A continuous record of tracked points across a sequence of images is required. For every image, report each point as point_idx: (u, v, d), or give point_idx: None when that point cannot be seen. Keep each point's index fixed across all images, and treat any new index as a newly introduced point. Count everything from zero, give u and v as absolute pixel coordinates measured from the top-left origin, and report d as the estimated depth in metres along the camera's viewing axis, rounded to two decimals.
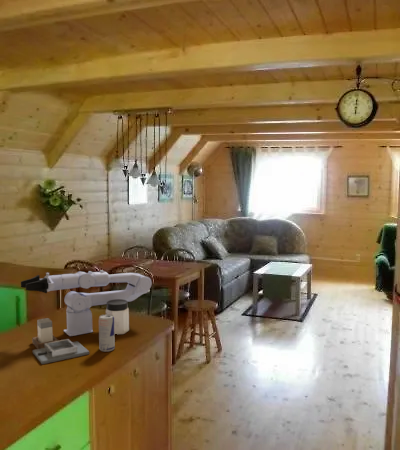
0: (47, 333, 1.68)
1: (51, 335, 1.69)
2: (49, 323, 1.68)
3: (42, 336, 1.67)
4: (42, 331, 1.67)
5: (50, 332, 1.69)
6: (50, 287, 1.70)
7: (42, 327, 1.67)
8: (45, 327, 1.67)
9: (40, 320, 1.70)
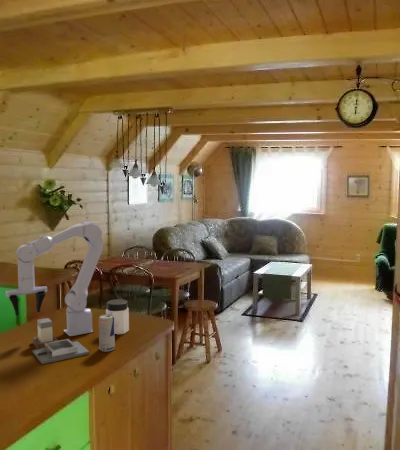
0: (47, 333, 1.68)
1: (51, 335, 1.69)
2: (49, 323, 1.68)
3: (42, 336, 1.67)
4: (42, 331, 1.67)
5: (50, 332, 1.69)
6: (6, 295, 1.69)
7: (42, 327, 1.67)
8: (45, 327, 1.67)
9: (40, 320, 1.70)
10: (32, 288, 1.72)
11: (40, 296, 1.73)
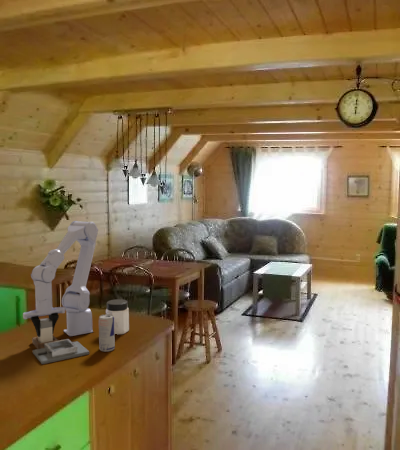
0: (47, 333, 1.68)
1: (51, 335, 1.69)
2: (49, 323, 1.68)
3: (42, 336, 1.67)
4: (42, 331, 1.67)
5: (50, 332, 1.69)
6: (23, 317, 1.65)
7: (42, 327, 1.67)
8: (45, 327, 1.67)
9: (40, 320, 1.70)
10: (50, 309, 1.68)
11: (53, 318, 1.69)
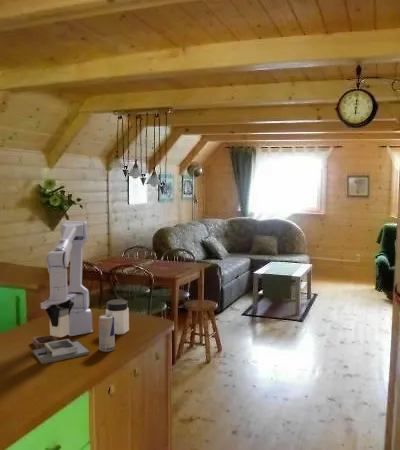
0: (65, 321, 1.60)
1: (68, 323, 1.61)
2: (66, 311, 1.60)
3: (61, 325, 1.58)
4: (61, 320, 1.58)
5: (67, 320, 1.61)
6: (43, 307, 1.53)
7: (61, 315, 1.58)
8: (63, 315, 1.59)
9: None
10: (67, 296, 1.60)
11: (70, 305, 1.61)
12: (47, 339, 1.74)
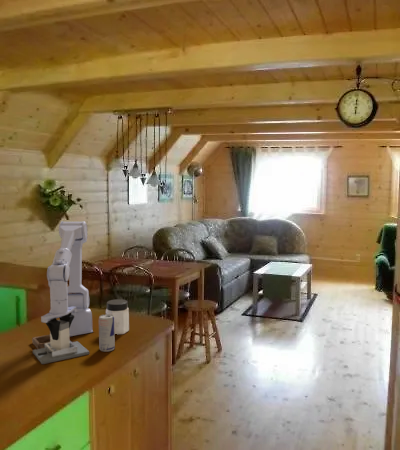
0: (65, 335, 1.60)
1: (68, 336, 1.61)
2: (67, 324, 1.60)
3: (61, 338, 1.59)
4: (61, 333, 1.58)
5: (67, 333, 1.61)
6: (44, 321, 1.54)
7: (61, 329, 1.58)
8: (64, 328, 1.59)
9: None
10: (67, 310, 1.60)
11: (70, 318, 1.62)
12: (47, 339, 1.74)
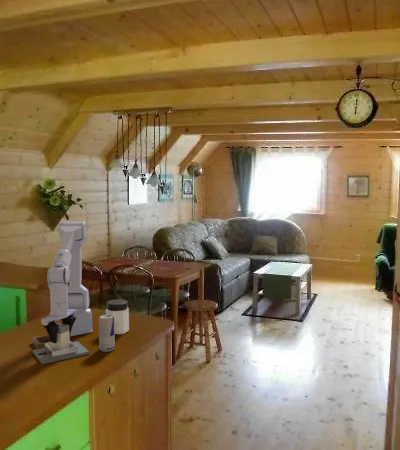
0: (65, 338, 1.60)
1: (68, 339, 1.61)
2: (67, 327, 1.61)
3: (61, 341, 1.59)
4: (61, 336, 1.59)
5: (67, 336, 1.61)
6: (44, 323, 1.54)
7: (61, 332, 1.58)
8: (64, 332, 1.59)
9: None
10: (67, 312, 1.60)
11: (72, 320, 1.62)
12: (47, 339, 1.74)
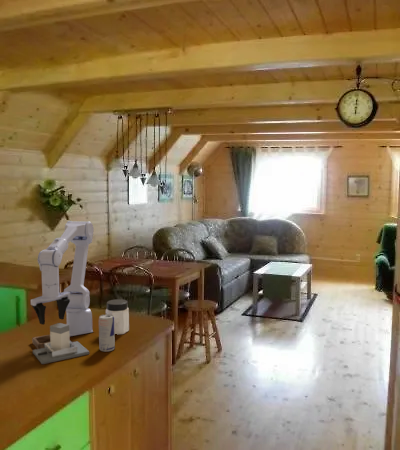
0: (65, 338, 1.60)
1: (68, 339, 1.61)
2: (67, 327, 1.61)
3: (61, 341, 1.59)
4: (61, 336, 1.59)
5: (67, 336, 1.61)
6: (32, 304, 1.58)
7: (61, 332, 1.58)
8: (64, 332, 1.59)
9: (54, 325, 1.60)
10: (58, 294, 1.63)
11: (65, 302, 1.65)
12: (47, 339, 1.74)
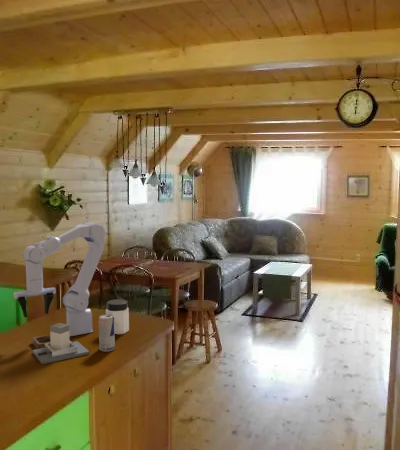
0: (65, 338, 1.60)
1: (68, 339, 1.61)
2: (67, 327, 1.61)
3: (61, 341, 1.59)
4: (61, 336, 1.59)
5: (67, 336, 1.61)
6: (14, 297, 1.67)
7: (61, 332, 1.58)
8: (64, 332, 1.59)
9: (54, 325, 1.60)
10: (40, 289, 1.70)
11: (48, 298, 1.71)
12: (47, 339, 1.74)
